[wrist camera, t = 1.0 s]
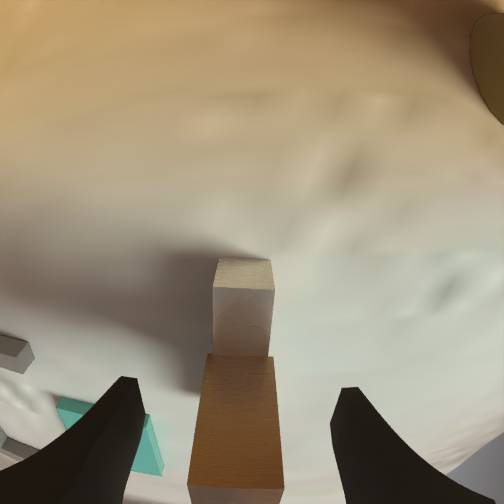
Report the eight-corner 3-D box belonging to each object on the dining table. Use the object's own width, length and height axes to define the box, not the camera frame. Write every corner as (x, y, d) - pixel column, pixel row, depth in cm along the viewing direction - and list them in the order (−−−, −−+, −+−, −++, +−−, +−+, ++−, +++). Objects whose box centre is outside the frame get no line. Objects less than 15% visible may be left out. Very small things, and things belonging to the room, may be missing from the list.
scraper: (261, 400, 16) (265, 540, 8) (215, 398, 16) (201, 537, 8) (275, 259, 13) (303, 425, 5) (214, 256, 13) (174, 420, 5)
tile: (165, 460, 19) (161, 476, 18) (89, 444, 19) (84, 459, 17) (151, 408, 17) (146, 427, 15) (64, 391, 17) (56, 407, 15)
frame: (92, 472, 20) (87, 486, 18) (4, 440, 20) (-2, 451, 18) (28, 342, 15) (15, 357, 13) (-63, 315, 14) (-74, 325, 13)
